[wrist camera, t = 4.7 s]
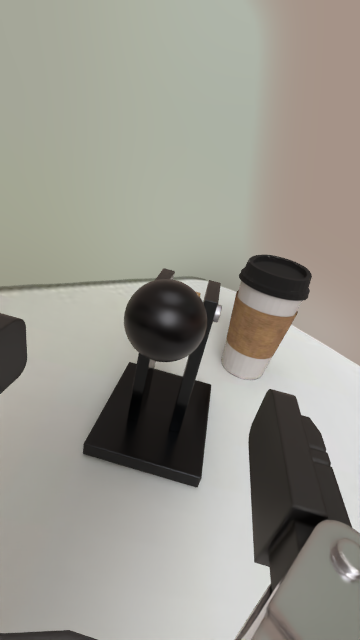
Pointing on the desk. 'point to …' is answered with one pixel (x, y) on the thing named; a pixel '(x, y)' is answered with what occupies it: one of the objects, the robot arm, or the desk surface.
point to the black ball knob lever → (165, 320)
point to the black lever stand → (158, 413)
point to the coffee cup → (263, 313)
